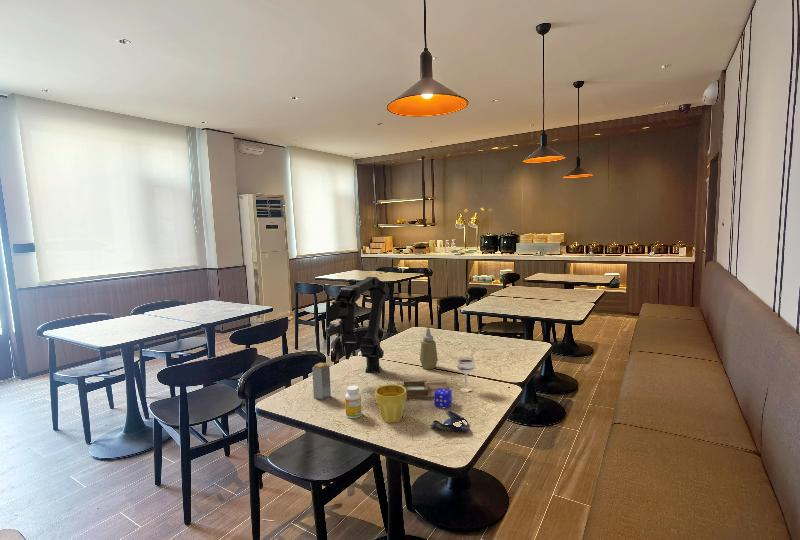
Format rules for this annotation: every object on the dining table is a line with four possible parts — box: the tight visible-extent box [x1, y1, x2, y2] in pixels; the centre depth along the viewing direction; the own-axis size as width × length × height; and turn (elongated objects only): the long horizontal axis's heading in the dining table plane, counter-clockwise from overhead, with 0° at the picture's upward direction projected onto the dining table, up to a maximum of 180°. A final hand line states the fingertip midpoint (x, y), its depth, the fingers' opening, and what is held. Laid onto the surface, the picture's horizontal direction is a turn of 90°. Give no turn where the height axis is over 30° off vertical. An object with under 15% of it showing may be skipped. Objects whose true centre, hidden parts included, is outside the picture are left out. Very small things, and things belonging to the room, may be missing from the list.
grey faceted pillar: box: [311, 362, 331, 401], centre depth 158 cm, size 4×4×13 cm
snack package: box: [429, 408, 469, 432], centre depth 132 cm, size 12×6×12 cm
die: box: [433, 388, 453, 409], centre depth 149 cm, size 5×5×5 cm
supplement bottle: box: [344, 385, 363, 419], centre depth 142 cm, size 5×5×10 cm
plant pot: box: [374, 384, 407, 423], centre depth 139 cm, size 10×10×10 cm
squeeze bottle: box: [419, 327, 439, 370], centre depth 188 cm, size 8×8×18 cm
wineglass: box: [456, 356, 476, 389], centre depth 161 cm, size 7×7×12 cm
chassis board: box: [396, 380, 449, 401], centre depth 161 cm, size 14×20×3 cm
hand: (345, 357), depth 168 cm, fingers open, 9 cm apart
